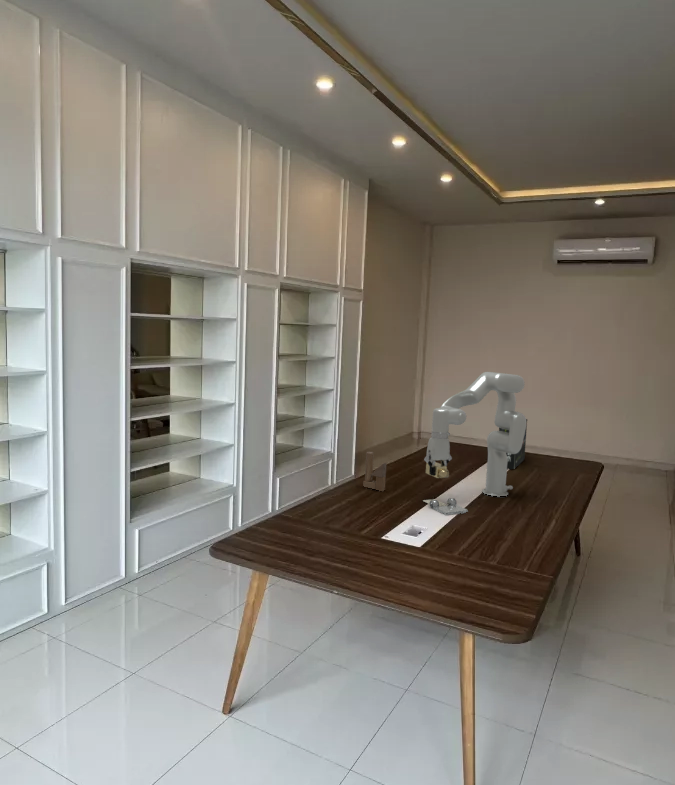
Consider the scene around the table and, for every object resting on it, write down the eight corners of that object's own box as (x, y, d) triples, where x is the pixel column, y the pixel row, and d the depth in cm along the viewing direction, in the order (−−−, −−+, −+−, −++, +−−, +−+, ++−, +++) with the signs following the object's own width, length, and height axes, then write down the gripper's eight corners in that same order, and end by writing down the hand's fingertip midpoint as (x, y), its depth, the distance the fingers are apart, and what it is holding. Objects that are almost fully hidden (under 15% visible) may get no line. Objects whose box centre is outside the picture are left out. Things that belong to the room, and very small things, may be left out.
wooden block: (381, 492, 280) (383, 455, 278) (362, 487, 286) (364, 452, 284) (385, 490, 283) (387, 454, 281) (366, 486, 289) (368, 451, 287)
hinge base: (452, 504, 265) (453, 496, 264) (469, 512, 254) (469, 504, 254) (427, 507, 259) (428, 499, 258) (443, 515, 248) (444, 507, 248)
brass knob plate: (434, 472, 270) (435, 461, 269) (449, 478, 259) (450, 467, 259) (425, 473, 268) (426, 462, 267) (440, 479, 257) (441, 468, 257)
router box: (507, 457, 375) (510, 416, 372) (524, 459, 370) (528, 418, 367) (495, 467, 343) (498, 423, 341) (514, 470, 338) (517, 425, 335)
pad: (435, 499, 271) (435, 499, 271) (447, 505, 263) (447, 505, 263) (422, 500, 268) (422, 500, 268) (434, 507, 260) (434, 506, 260)
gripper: (449, 433, 269) (447, 471, 271) (419, 434, 262) (416, 473, 264) (459, 436, 262) (457, 475, 264) (429, 437, 255) (426, 477, 257)
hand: (437, 474), depth 264 cm, fingers closed on brass knob plate, 5 cm apart
